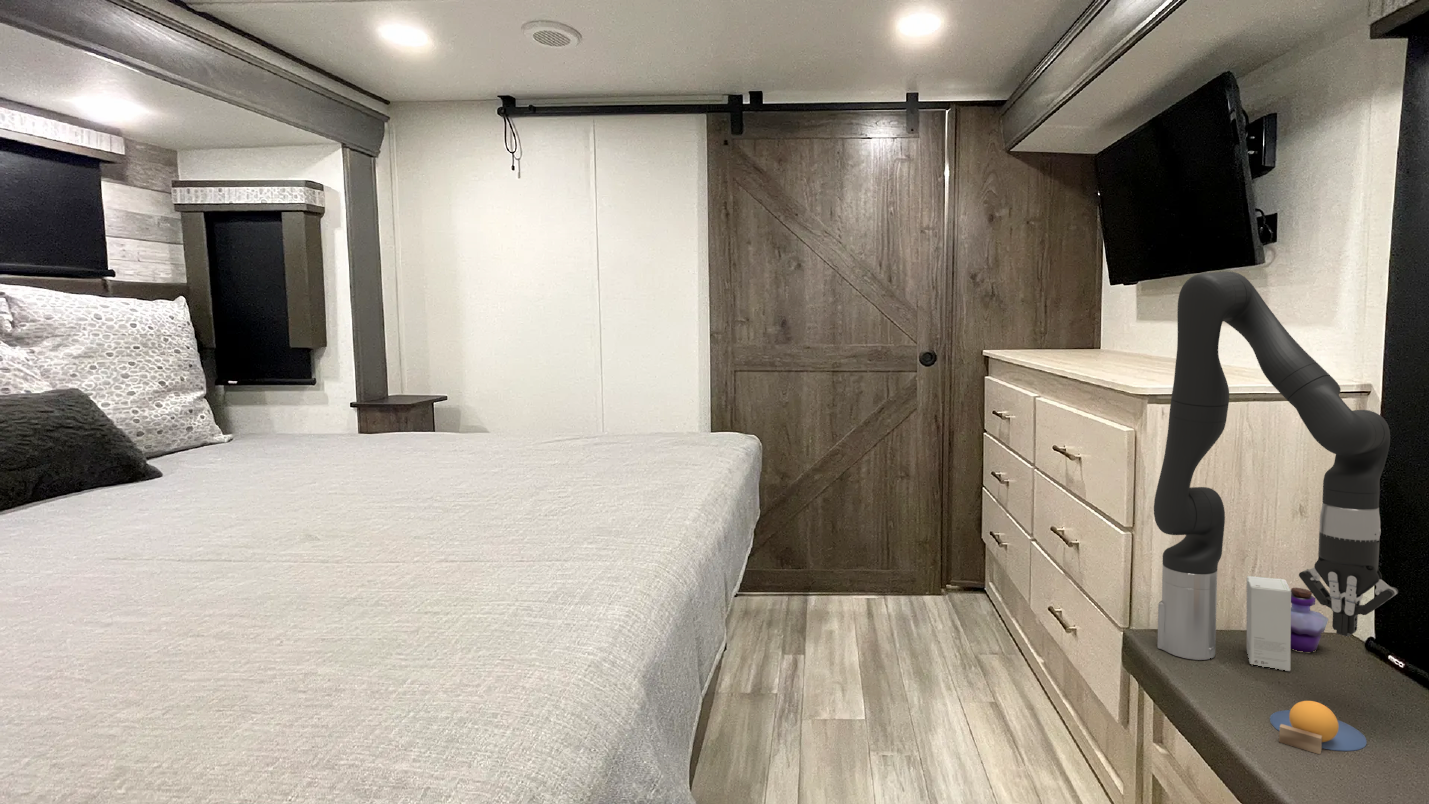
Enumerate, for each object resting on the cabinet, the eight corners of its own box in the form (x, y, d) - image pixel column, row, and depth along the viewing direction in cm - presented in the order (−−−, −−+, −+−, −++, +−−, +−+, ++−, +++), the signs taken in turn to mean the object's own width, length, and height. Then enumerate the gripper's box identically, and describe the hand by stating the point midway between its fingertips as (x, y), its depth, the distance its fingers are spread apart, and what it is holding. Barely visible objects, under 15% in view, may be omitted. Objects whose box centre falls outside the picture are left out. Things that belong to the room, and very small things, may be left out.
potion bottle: (1261, 640, 152) (1263, 583, 151) (1299, 637, 153) (1301, 580, 152) (1298, 658, 143) (1300, 598, 142) (1339, 654, 144) (1341, 595, 143)
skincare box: (1290, 672, 138) (1293, 591, 136) (1247, 665, 141) (1249, 586, 140) (1285, 655, 145) (1287, 578, 143) (1243, 649, 148) (1245, 573, 147)
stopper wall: (1279, 742, 115) (1279, 726, 115) (1280, 739, 116) (1281, 723, 116) (1320, 754, 112) (1320, 738, 111) (1321, 751, 112) (1322, 735, 112)
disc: (1262, 731, 119) (1262, 729, 119) (1278, 703, 127) (1278, 702, 127) (1361, 760, 110) (1361, 759, 110) (1371, 729, 118) (1371, 728, 118)
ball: (1282, 709, 115) (1298, 686, 118) (1282, 737, 118) (1298, 714, 120) (1329, 729, 111) (1345, 704, 113) (1328, 757, 113) (1344, 733, 115)
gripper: (1290, 527, 124) (1287, 627, 126) (1393, 545, 113) (1387, 654, 115) (1309, 520, 128) (1306, 617, 130) (1410, 536, 117) (1405, 642, 119)
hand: (1344, 634), depth 122 cm, fingers closed
